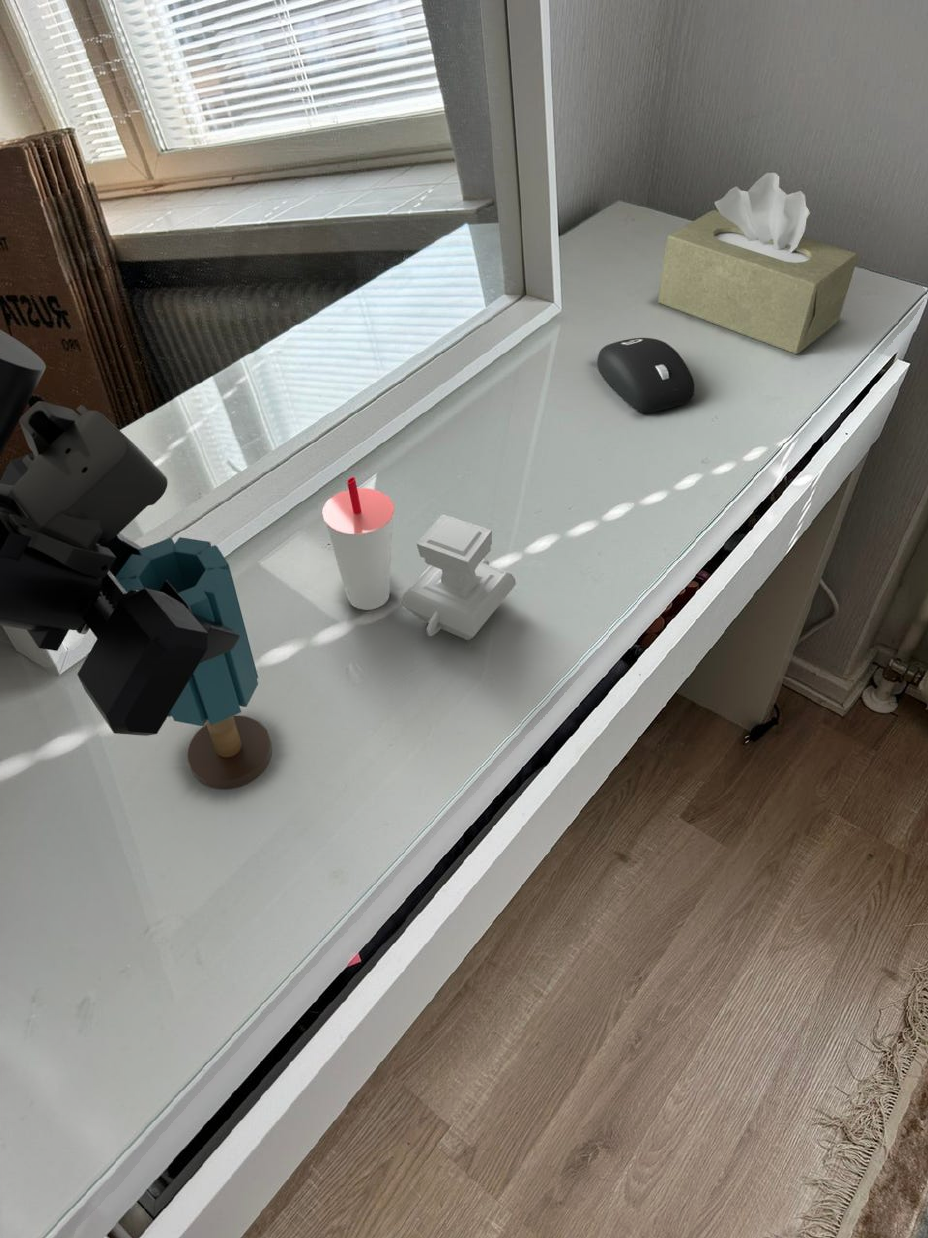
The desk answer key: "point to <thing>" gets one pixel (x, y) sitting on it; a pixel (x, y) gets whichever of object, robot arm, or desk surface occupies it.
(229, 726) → the dowel stand
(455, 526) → the stamp
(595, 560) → the desk surface
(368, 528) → the cup
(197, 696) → the sleeve
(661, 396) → the computer mouse
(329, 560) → the desk surface
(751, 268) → the tissue box
